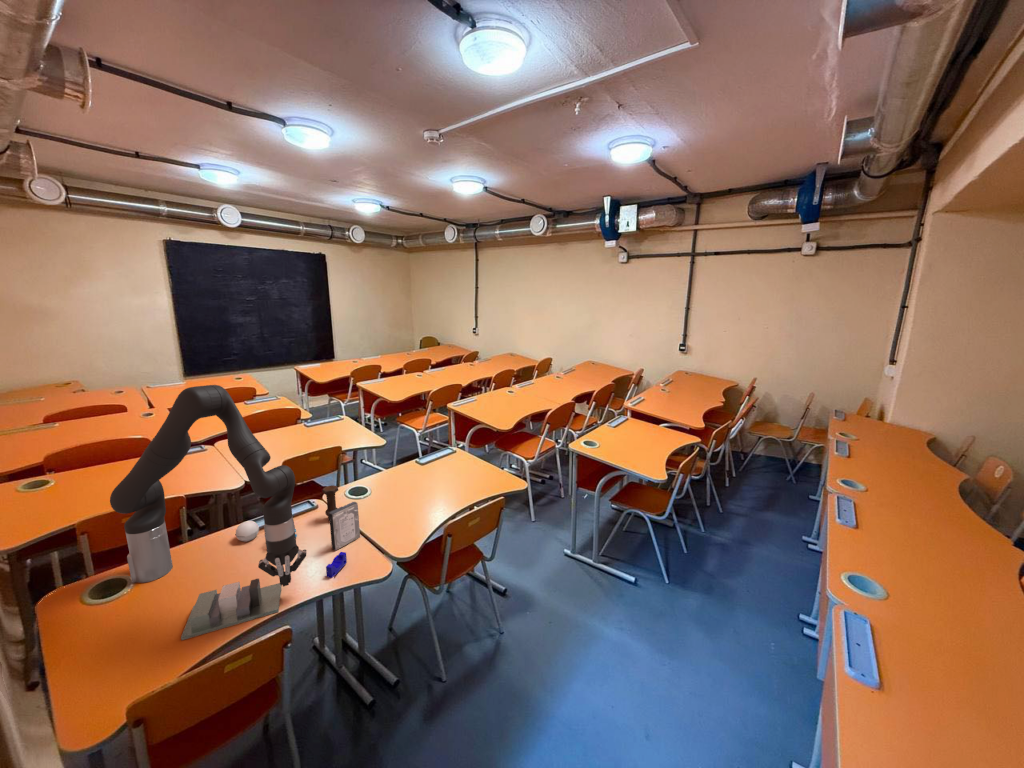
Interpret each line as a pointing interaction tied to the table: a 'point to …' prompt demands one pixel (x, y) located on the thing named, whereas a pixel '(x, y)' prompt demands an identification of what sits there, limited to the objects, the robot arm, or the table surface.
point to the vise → (209, 618)
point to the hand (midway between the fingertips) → (286, 584)
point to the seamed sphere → (247, 531)
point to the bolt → (330, 498)
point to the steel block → (229, 599)
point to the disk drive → (344, 525)
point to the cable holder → (336, 565)
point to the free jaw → (248, 598)
